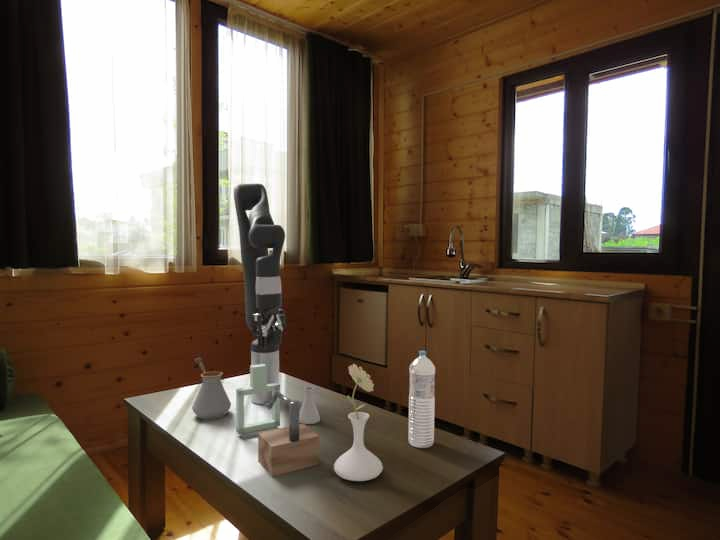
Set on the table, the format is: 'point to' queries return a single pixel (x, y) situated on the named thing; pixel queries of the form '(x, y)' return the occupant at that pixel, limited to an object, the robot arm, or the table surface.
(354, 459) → the flower in vase
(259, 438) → the wooden block
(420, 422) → the water bottle
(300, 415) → the flask
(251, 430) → the square frame with post
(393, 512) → the table surface
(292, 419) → the bent wire
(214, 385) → the coffee pot
